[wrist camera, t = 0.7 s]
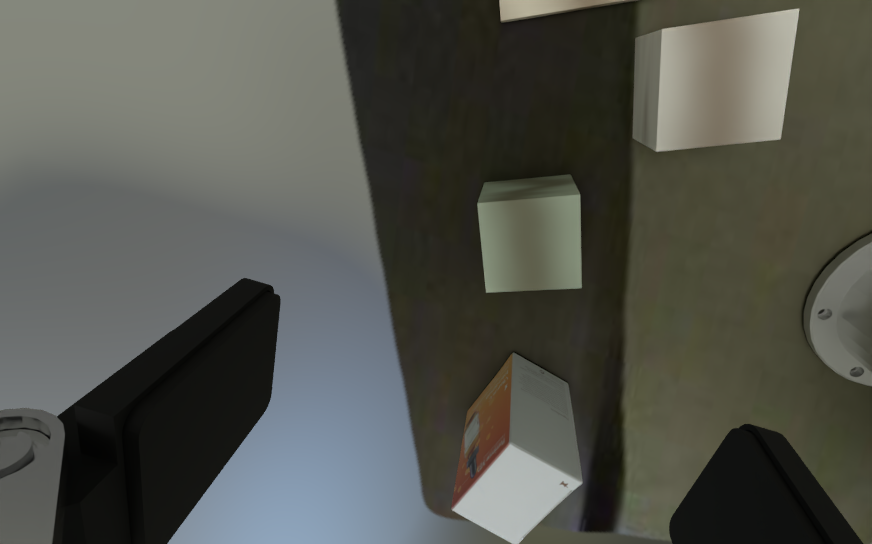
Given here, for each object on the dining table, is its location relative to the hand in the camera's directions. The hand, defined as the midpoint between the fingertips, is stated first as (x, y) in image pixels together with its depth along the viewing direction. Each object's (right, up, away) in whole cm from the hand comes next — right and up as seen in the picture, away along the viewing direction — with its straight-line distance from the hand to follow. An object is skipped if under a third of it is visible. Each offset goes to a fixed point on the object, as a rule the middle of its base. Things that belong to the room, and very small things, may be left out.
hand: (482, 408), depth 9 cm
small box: (+6, -8, +31) cm, 32 cm away
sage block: (+6, +7, +24) cm, 26 cm away
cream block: (+15, +15, +19) cm, 28 cm away
